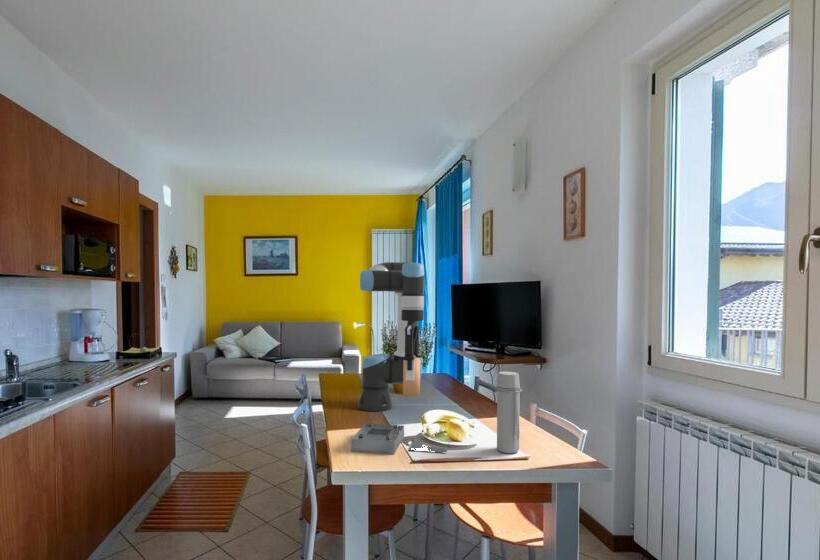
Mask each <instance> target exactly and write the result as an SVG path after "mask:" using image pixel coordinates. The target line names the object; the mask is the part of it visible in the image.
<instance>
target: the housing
mask: <svg viewBox="0 0 820 560" xmlns="http://www.w3.org/2000/svg"><path fill="white" fill-rule="evenodd" d="M404 438H405V425H400V424H399V425H398V424H379V423H365V424H364V425H362V427H361V428H360V429H358V431H357V432H356V433H355V434H354V435H353V436H352V437H351V438H350V439H351V441H350V451H351V452H354V453H367V454H369V453H370V454H382V455H383V454H384V455H395V454H396V453H397V451H398V449H399V447H400V445H401V443H402V441H403V440H404Z"/></svg>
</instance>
